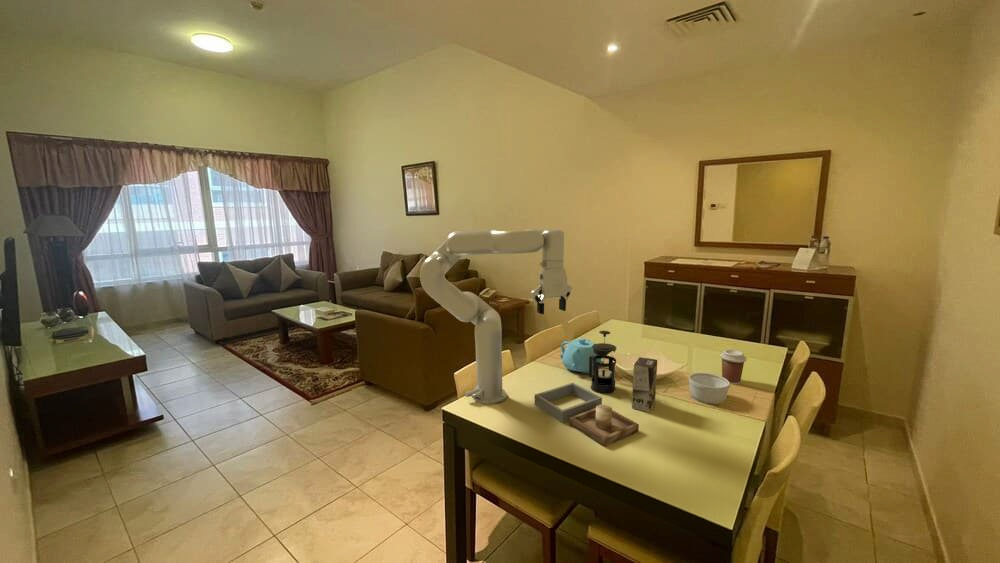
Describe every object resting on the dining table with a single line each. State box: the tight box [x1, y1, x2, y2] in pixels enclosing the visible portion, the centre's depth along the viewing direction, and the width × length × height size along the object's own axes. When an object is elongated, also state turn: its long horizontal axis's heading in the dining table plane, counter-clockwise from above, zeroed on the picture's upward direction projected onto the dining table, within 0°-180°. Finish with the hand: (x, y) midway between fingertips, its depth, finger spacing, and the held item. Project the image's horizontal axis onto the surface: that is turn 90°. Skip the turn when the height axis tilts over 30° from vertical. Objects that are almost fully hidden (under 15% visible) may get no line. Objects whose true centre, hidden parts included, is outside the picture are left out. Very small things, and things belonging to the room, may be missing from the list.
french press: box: [588, 330, 617, 395], centre depth 155 cm, size 12×9×23 cm
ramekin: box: [688, 372, 731, 405], centre depth 147 cm, size 13×13×7 cm
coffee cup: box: [719, 348, 748, 385], centre depth 160 cm, size 9×9×12 cm
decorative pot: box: [559, 337, 603, 374], centre depth 176 cm, size 16×16×14 cm
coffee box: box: [631, 356, 658, 413], centre depth 142 cm, size 9×6×16 cm
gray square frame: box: [534, 382, 603, 424], centre depth 143 cm, size 18×15×4 cm
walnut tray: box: [569, 408, 640, 448], centre depth 128 cm, size 15×15×2 cm
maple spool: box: [595, 403, 613, 430], centre depth 128 cm, size 5×5×6 cm
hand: (551, 311), depth 146 cm, fingers open, 9 cm apart
